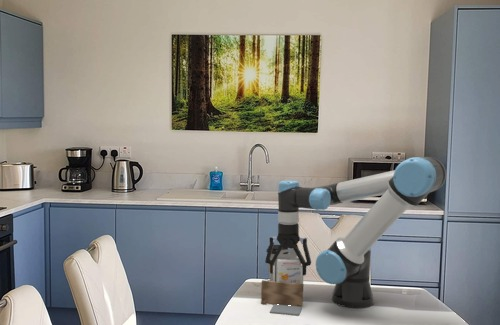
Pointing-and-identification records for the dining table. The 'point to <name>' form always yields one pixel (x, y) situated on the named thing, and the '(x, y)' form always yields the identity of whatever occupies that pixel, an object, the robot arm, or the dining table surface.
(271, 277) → the coffee cup
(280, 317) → the dining table surface
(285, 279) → the ink box
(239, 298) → the dining table surface
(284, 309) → the mat
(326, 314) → the dining table surface
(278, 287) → the wooden stand
